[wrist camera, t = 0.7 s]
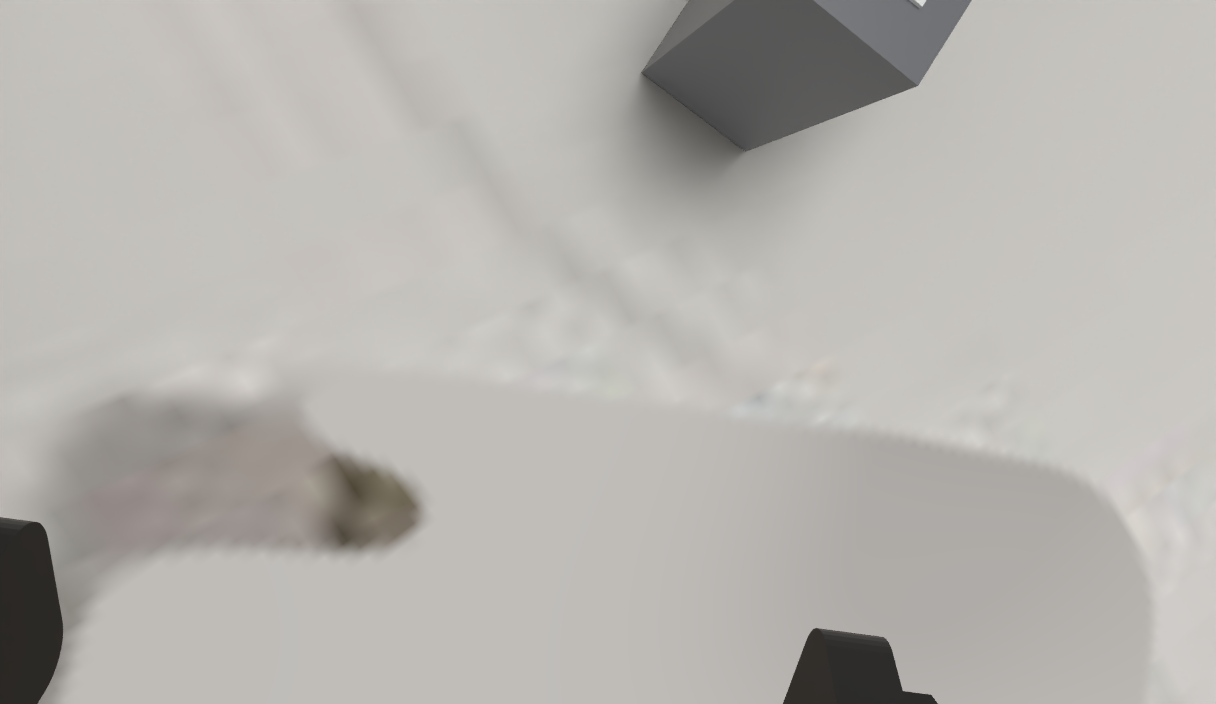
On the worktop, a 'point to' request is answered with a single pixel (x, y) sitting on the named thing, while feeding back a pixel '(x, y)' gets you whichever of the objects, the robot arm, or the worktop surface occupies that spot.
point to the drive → (796, 59)
